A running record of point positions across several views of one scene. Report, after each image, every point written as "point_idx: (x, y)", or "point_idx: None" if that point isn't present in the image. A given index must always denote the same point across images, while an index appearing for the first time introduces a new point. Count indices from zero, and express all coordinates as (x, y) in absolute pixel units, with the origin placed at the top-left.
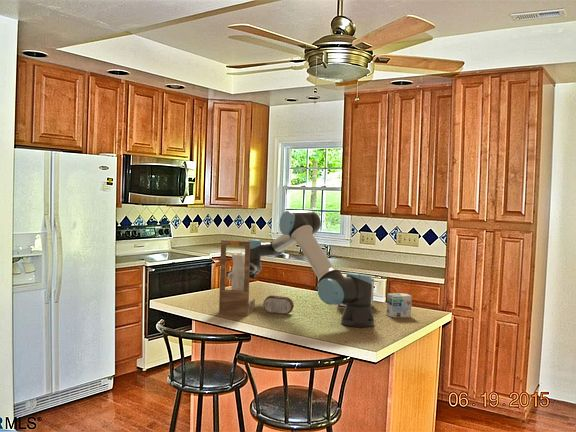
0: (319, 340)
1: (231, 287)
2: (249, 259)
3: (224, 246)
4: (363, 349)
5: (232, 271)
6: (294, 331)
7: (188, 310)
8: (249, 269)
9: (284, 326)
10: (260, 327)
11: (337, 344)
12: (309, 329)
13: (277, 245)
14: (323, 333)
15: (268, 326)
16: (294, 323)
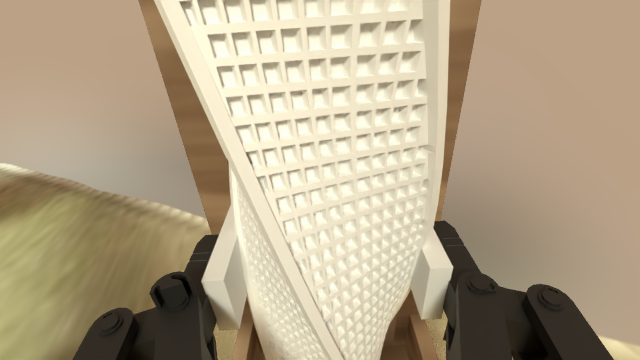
0: (68, 182)
1: (390, 321)
2: (147, 2)
3: None
4: (4, 168)
5: (421, 231)
6: (100, 214)
7: (603, 341)
8: (176, 115)
9: (112, 245)
10: (198, 217)
11: (41, 174)
12: (36, 241)
13: None
14: (15, 222)
15: (171, 231)
16: (50, 289)
